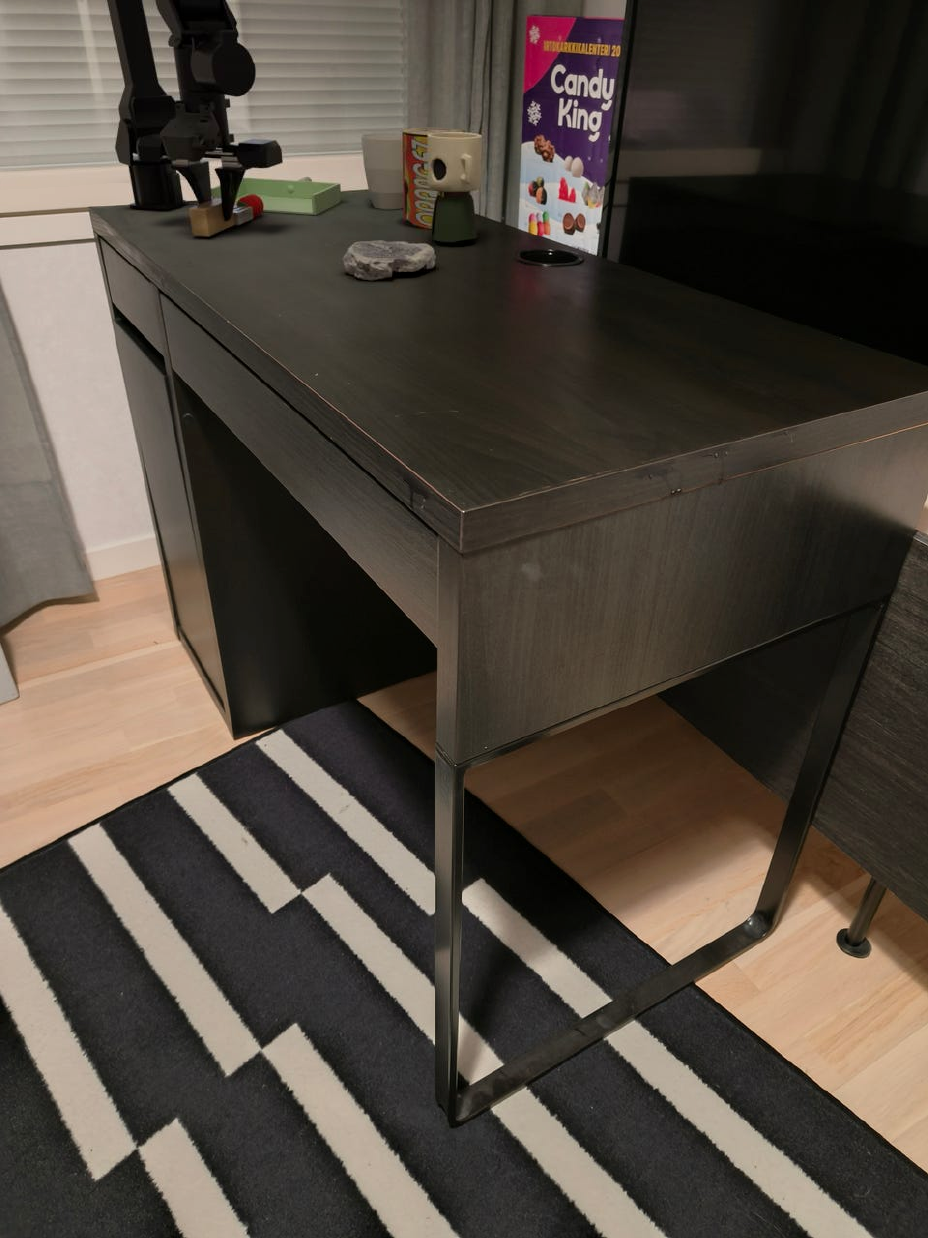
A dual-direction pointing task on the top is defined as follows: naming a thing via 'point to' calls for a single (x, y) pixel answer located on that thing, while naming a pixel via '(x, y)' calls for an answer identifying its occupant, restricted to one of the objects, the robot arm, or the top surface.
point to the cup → (384, 169)
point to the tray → (289, 194)
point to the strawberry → (252, 203)
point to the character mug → (454, 183)
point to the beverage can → (418, 177)
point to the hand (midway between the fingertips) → (218, 219)
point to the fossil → (386, 258)
